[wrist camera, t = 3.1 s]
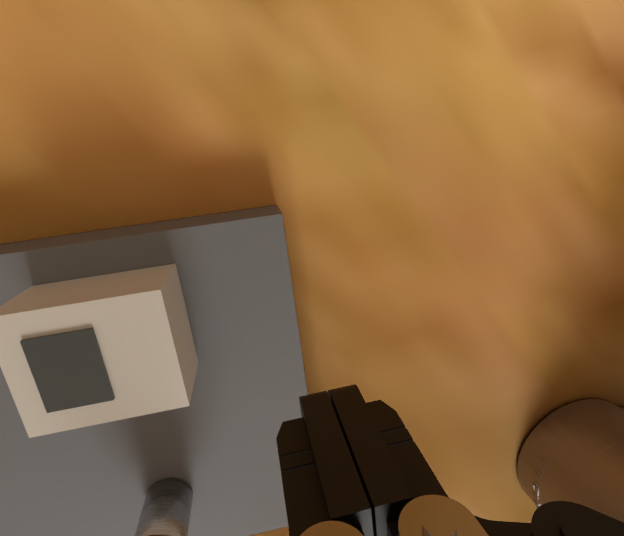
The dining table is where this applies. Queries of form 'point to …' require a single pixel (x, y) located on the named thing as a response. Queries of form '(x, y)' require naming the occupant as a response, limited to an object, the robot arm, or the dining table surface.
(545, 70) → the dining table surface
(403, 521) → the robot arm
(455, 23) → the dining table surface
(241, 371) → the board
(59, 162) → the dining table surface
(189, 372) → the white boxy piece
